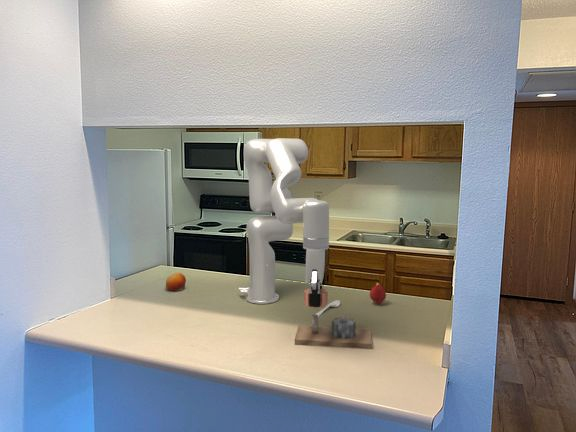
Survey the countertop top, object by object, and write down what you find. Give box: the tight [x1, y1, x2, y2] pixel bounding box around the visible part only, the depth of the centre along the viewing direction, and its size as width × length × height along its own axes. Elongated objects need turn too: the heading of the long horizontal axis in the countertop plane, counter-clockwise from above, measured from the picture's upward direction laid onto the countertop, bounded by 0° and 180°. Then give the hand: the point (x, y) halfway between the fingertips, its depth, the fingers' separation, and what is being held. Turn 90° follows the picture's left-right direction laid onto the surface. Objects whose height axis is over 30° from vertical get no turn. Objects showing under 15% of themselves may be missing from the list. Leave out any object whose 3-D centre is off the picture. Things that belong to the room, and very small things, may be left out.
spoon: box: [314, 300, 341, 317], centre depth 159 cm, size 4×21×2 cm, turn 146°
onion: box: [369, 282, 387, 305], centre depth 165 cm, size 6×6×8 cm
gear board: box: [293, 313, 373, 350], centre depth 134 cm, size 22×11×8 cm, turn 82°
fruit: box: [165, 272, 187, 292], centre depth 183 cm, size 8×8×8 cm
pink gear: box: [303, 288, 329, 309], centre depth 133 cm, size 7×7×4 cm
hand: (315, 302), depth 133 cm, fingers closed on pink gear, 6 cm apart
